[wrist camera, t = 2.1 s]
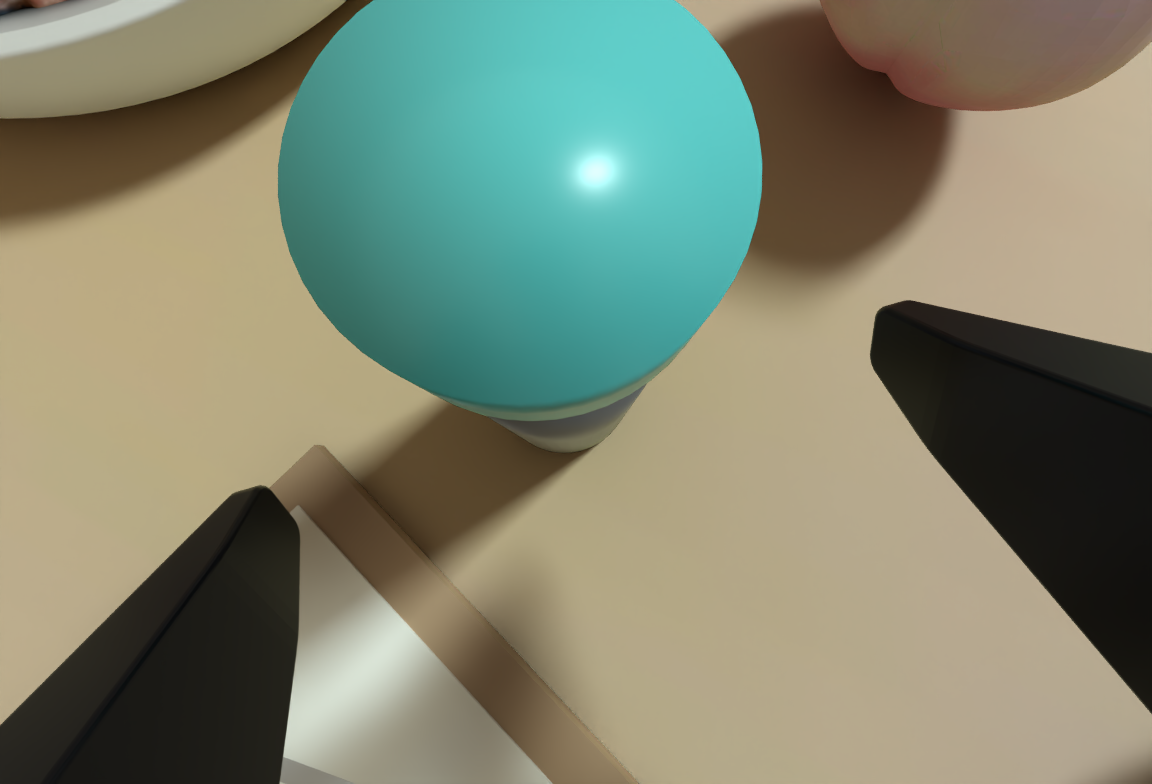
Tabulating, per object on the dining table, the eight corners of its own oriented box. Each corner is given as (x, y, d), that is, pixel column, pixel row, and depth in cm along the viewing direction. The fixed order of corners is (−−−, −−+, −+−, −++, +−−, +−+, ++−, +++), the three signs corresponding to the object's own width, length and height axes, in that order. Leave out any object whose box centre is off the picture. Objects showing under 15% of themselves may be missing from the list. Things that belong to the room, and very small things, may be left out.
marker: (659, 388, 18) (863, 161, 5) (564, 485, 17) (514, 513, 5) (564, 296, 18) (522, -131, 5) (469, 388, 18) (178, 165, 5)
